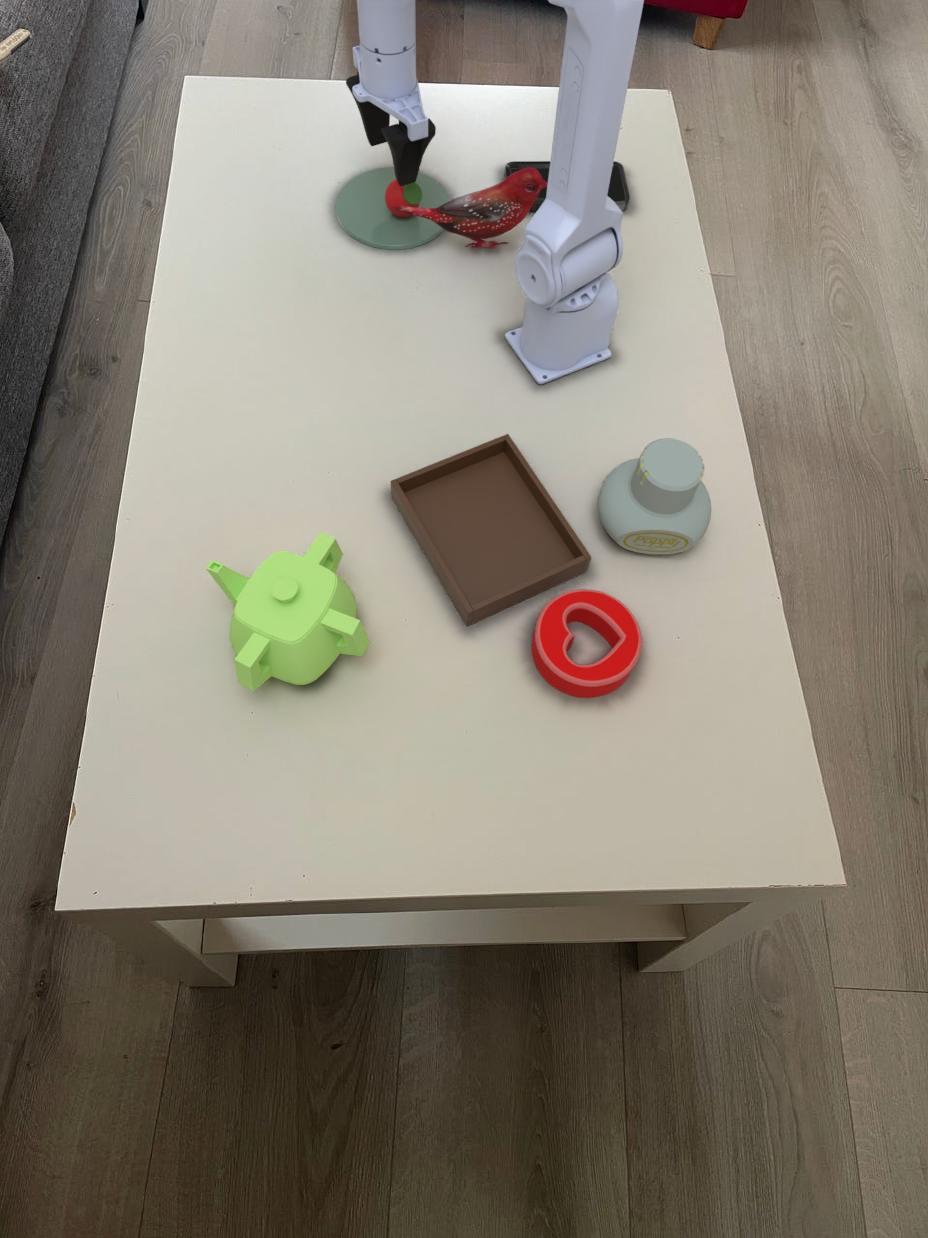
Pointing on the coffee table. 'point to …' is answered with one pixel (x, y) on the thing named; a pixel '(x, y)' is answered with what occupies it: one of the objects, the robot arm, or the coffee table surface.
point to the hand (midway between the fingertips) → (392, 162)
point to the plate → (386, 211)
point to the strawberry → (402, 197)
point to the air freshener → (657, 499)
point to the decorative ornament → (557, 639)
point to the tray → (489, 528)
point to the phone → (615, 190)
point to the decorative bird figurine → (487, 208)
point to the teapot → (291, 615)
